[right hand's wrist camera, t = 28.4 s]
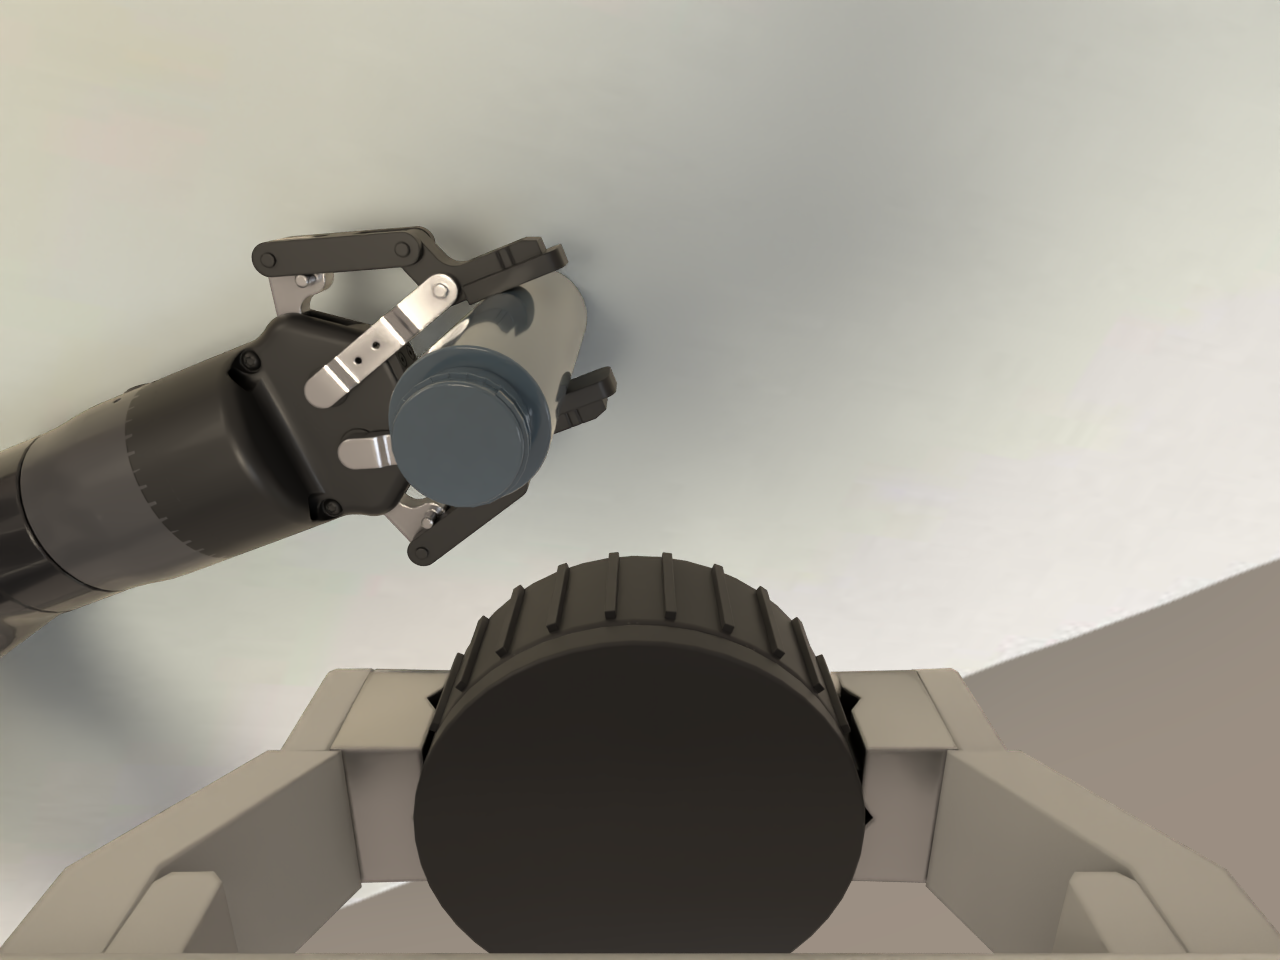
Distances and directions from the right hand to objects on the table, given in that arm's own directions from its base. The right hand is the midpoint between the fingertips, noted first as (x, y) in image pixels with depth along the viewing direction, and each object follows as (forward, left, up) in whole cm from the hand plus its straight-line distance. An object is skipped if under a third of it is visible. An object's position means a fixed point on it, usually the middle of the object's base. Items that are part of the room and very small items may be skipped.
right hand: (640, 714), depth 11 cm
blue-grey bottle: (+2, -4, -29) cm, 29 cm away
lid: (0, 0, +2) cm, 2 cm away
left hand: (0, -2, -23) cm, 23 cm away
